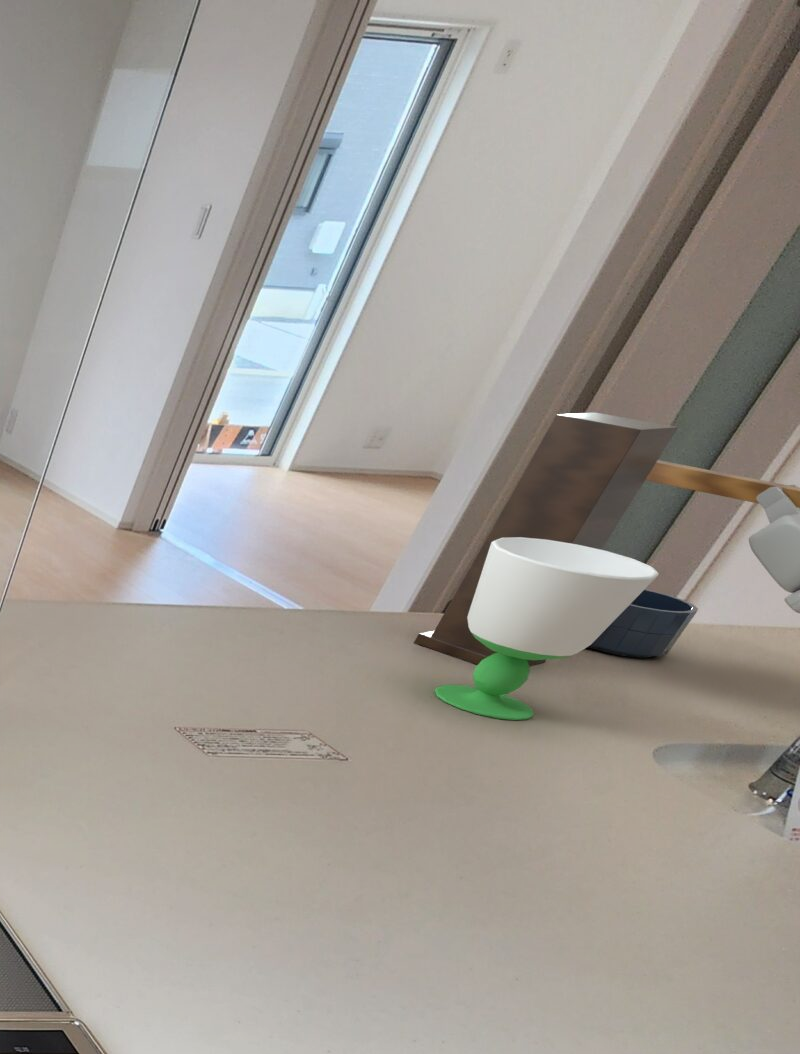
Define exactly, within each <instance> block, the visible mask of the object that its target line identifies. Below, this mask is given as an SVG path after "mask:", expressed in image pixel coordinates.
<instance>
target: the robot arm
mask: <svg viewBox="0 0 800 1054" xmlns="http://www.w3.org/2000/svg"><path fill="white" fill-rule="evenodd" d="M788 485H789V486H794V487H799V486H798V485H797V484H788ZM789 497H790V495H789V494H788V493H787V492H786V491H784V489H783V488H782V487H780V486H779V487H770V488H768V489H767V490H765V491H764V492H762V493H760V494H759V495H758V496H757V497H756V500H757V501H758V503H759V504H758V503H757V504H758V505H760V507H762V508H763V509H764V512H765V514H766V517H767V520H768V522H769V524H766V525H765V526H764V527H762V528H760V529H759V530H757V531H756V532H754V533H752V534H751V535H750V536H749V537H748V544H749V547H750V550H751V551H752V553H753V555H754V556H755V557H756V559H757V560H758V561H759V562H760V564H761V565H762V566H763V568H764V569H765V570H766V571H767V573H768V574H769V575H770V576H771V578H772V579H773V580H774V581H775V583H776V584H778V586H779V587H780V588H781V589H782V590H784V591H785V592H787V593H790V594H788V595H786V596H785V597H784V602H785V603H786V605H787V606H788V607H789V608H790V609H791V610H792V611H794V612H795V613H797V614H800V508H799V507H798V508H797V507H796V506H795V505H794V504H793V502H792V501H791V500H790V499H789Z"/></svg>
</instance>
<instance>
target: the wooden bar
mask: <svg viewBox="0 0 800 1054" xmlns="http://www.w3.org/2000/svg"><path fill="white" fill-rule="evenodd" d="M645 481H648V482H652V483H656V484H663V485H666V486H667V485H668V486H672V487H678V488H681V489H686V490H691V491H696V492H702V493H706V494H711V495H715V496H720V497H725V498H729V499H734V500H739V501H745V502H748V503H754V504H758V505H760V504H759V503H758V501H757V500H756V497H757V496H758V495H759V494H760V493H762V492H764V491H765V490H767V489H768V488H770V487H779V486H780V487H782V488H783V489H784V491H786V492H787V493H788V494H789V495H790V497H789V499H790V500H791V501H792V502H793V504H794V505H795V506H796V507H797V508H798V507H799V508H800V487H799V486H798V487H794V486H789V485H790V484H783V483H777V482H773V481H768V480H762V479H758V478H753V477H748V476H742V475H737V474H732V473H726V472H721V471H716V470H712V469H706V468H701V467H695V466H690V465H687V464H681V463H675V462H670V461H665V460H661V459H658V460H657V462H656V464H655V465H654V467H653V468H652V470H651V472H650V473H649V475H648V476H647V478H646V480H645Z"/></svg>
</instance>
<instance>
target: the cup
mask: <svg viewBox="0 0 800 1054" xmlns="http://www.w3.org/2000/svg"><path fill="white" fill-rule="evenodd" d="M658 576H659V572H658V571H657V570H656V569H655V568H654V567H653V566H652V565H649V564H646V563H644V562H642V561H639V560H637V559H634V558H632V557H629V556H625V555H621V554H619V553H615V552H612V551H608V550H604V549H601V550H600V549H595V548H591V547H586V546H582V545H577V544H571V543H565V542H558V541H552V540H545V539H534V538H523V537H511V538H500V539H497V540H495V541H493V542H491V545H490V548H489V551H488V554H487V557H486V561H485V564H484V567H483V570H482V573H481V576H480V579H479V582H478V585H477V588H476V592H475V595H474V598H473V601H472V604H471V607H470V610H469V613H468V616H467V619H468V626H469V629H470V631H471V633H472V634H473V636H474V637H475V638H476V639H477V640H478V641H480V642H481V643H482V644H484V645H485V646H486V647H488V648H489V649H491V650H493V651H495V652H498V653H494V654H492V655H490V656H488V657H487V658H485V659H483V660H482V661H481V662H480V663H479V664H478V665H477V664H476V666H475V668H474V670H473V673H472V678H473V679H472V680H473V684H474V686H475V687H474V686H469V685H461V684H444V685H439V686H438V687H436V688H435V689H434V692H435V696H436V697H437V698H439V699H440V700H441V701H443V702H444V703H446V704H448V705H451V706H452V707H454V708H456V709H459V710H463V711H465V712H469V713H472V714H475V715H478V716H483V717H487V718H493V719H497V720H507V721H525V720H526V721H527V720H530V719H531V718H532V717H533V716H534V715H535V713H534V712H533V710H532V708H531V707H530V706H529V705H526V704H525V703H524V702H522V701H520V700H518V699H515V698H513V697H510V696H508V694H510V693H512V692H514V691H516V690H518V689H520V688H521V687H522V686H523V684H525V683H526V682H527V680H528V677H529V675H530V674H531V673H530V670H531V669H530V666H529V664H528V662H527V660H546V659H547V660H556V659H557V660H558V659H565V658H568V657H571V656H574V655H576V654H578V653H580V652H582V651H583V650H585V649H586V648H587V649H588V646H590V645H591V644H592V643H593V642H594V641H595V640H596V639H597V638H598V637H599V636H600V635H601V634H602V633H603V632H604V631H605V630H606V629H607V628H608V627H609V625H610V624H611V623H612V622H613V621H614V620H615V619H616V618H617V617H618V616H619V615H620V614H621V613H622V612H623V611H624V610H625V609H626V608H627V607H628V606H629V605H630V604H631V603H632V602H633V601H634V600H635V599H636V598H637V597H638V596H639V595H640V594H641V593H642V592H643V590H644V589H647V587H648V586H650V584H652V583H653V581H654V580H655V579H656V578H657V577H658ZM547 660H546V661H547Z"/></svg>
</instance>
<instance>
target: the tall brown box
mask: <svg viewBox="0 0 800 1054" xmlns="http://www.w3.org/2000/svg"><path fill="white" fill-rule="evenodd" d="M678 429H679V427H678V426H674V425H669V424H663V423H657V422H652V421H647V420H641V419H635V418H629V417H623V416H618V415H612V414H606V413H601V412H595V411H594V412H577V413H576V412H575V413H560V414H558V413H557V414H556V415H555V416H554V418H553V420H552V421H551V424H550V425H549V427H548V428H547V431H545V434H544V435H543V438H542V439H541V441H540V443H539V444H538V446H537V448H536V449H535V452H534V453H533V455H532V456H531V459H530V461H529V463H528V464H527V466H526V467H525V469H524V471H523V473H522V475H521V477H520V478H519V480H518V482H517V484H516V485H515V487H514V489H513V491H512V493H511V494H510V496H509V498H508V500H507V501H506V503H505V505H504V506H503V508H502V510H501V512H500V513H499V516H498V517H497V519H496V521H495V522H494V525H493V526H492V528H491V530H490V531H489V533H488V535H487V536H486V538H485V540H484V542H483V544H482V545H481V548H480V549H479V551H478V553H477V555H476V556H475V558H474V559H473V562H472V563H471V564H470V567H469V569H468V570H467V572H466V574H465V576H464V578H463V579H462V581H461V583H460V584H459V586H458V588H457V590H456V592H455V593H454V596H453V597H452V599H451V601H450V602H449V604H448V605H447V607H446V609H445V611H444V613H443V614H442V616H441V618H440V620H439V622H438V624H437V625H436V627H435V629H434V630H431V631H425V632H420V633H418V634H417V635H416V638H414V639H415V640H414V641H413V643H414V644H415V645H419V646H422V647H424V648H428V649H431V650H433V651H436V652H440V653H443V654H446V655H448V656H451V657H454V658H457V659H459V660H462V661H465V662H469V663H471V664H474V665H476V666H477V665H478V664H479V663H480V662H481V661H482V660H483V659H485V658H487V657H488V656H490V655H492V654H494V653H498V652H495V651H493V650H491V649H489V648H488V647H486V646H485V645H484V644H482V643H481V642H480V641H478V640H477V639H476V638H475V637H474V636H473V634H472V633H471V631H470V629H469V626H468V619H467V616H468V613H469V610H470V607H471V604H472V601H473V598H474V595H475V592H476V588H477V585H478V582H479V579H480V576H481V573H482V570H483V567H484V564H485V561H486V557H487V554H488V551H489V548H490V545H491V542H493V541H495V540H497V539H500V538H511V537H523V538H534V539H545V540H552V541H558V542H565V543H571V544H577V545H582V546H586V547H591V548H595V549H600V550H603V548H604V547H605V545H606V543H607V542H608V540H609V538H610V537H611V536H612V534H613V532H614V530H615V529H616V527H617V526H618V524H619V522H620V521H621V519H622V517H624V514H625V513H626V511H627V510H628V508H629V507H630V505H631V503H632V502H633V500H634V499H635V497H636V496H637V494H638V492H639V490H640V489H641V487H643V484H644V483H645V481H647V480H646V478H647V476H648V475H649V473H650V472H651V470H652V468H653V467H654V465H655V464H656V462H657V460H660V458H661V455H662V454H663V452H664V451H665V450H666V448H667V447H668V445H669V443H670V442H671V440H672V438H673V437H674V435H675V434H676V432H677V431H678ZM547 660H548V659H546V660H527V662H528V664H529V667H530V666H534V665H539V664H544V663H546V662H547Z"/></svg>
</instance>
